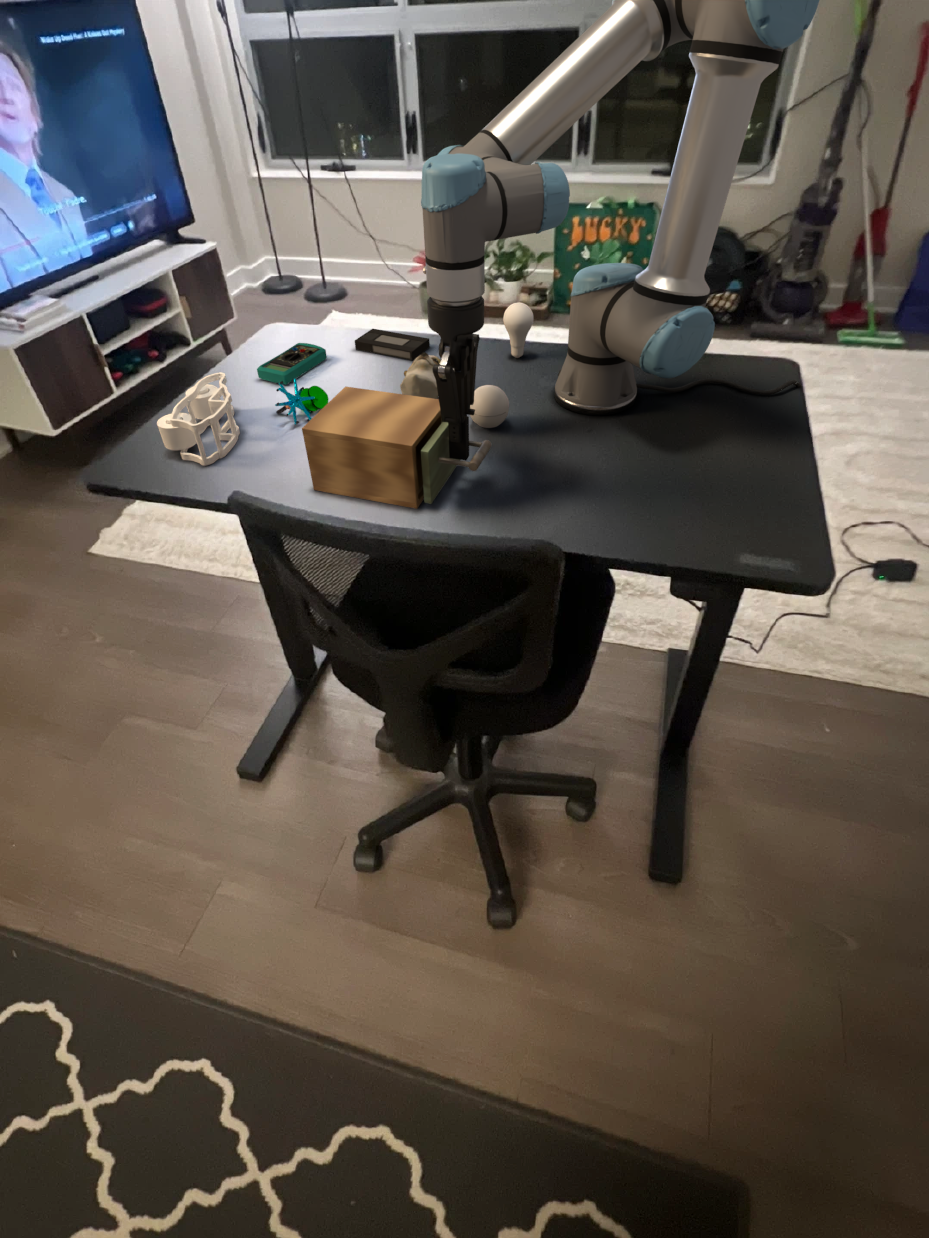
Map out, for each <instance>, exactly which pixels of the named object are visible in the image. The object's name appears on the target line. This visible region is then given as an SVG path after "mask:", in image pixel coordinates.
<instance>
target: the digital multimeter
mask: <svg viewBox="0 0 929 1238" xmlns="http://www.w3.org/2000/svg"><path fill="white" fill-rule="evenodd" d="M327 358H328V355H327V350H326V348H323V347H321V346H319V345H317V344H312V343H307V342H297V343H295V344H294V345H292V346H291V347H289V348H288V349H286V350H284V351H283V352H282V353H280V354H278V355H276V356H275V357H273V358H271V359H269V360H268V361H265V362H264V363H262V364H260V365H259V366H258V367H257V368H256V372H257V377H258V378H259V379H261V380H263V381H266V382H270V383H274V384H279V383H280V382H281V381H283V383H282V385H285V386H286V385H289V384H290V383H293V382H292V380H293V379H294V378H296V379H298V378H300V377H301V376H302V375H304V374H306V373H307V372H309V371H310V370H312V369H313V368H314V367H316V366H318V365H319V364H321V363H323V362H324V361H326V360H327Z"/></svg>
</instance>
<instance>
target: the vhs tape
mask: <svg viewBox="0 0 929 1238" xmlns="http://www.w3.org/2000/svg"><path fill="white" fill-rule="evenodd" d="M430 342H431V341H430V338H429V337H423V336H417V335H411V334H406V333H400V332H395V331H389V330H383V329H378V328H371V329H369V330H368V331H367V332H364V334H362V335H361V336H359V337H357V338H356V339H355V340H354V348H355V351H360V352H364V353H371V354H374V355H375V354H377V355H380V356H381V355H382V356H386V357H391V358H397V359H402V360H407V361H414V360H415V359H416V358H417V357H418V356H420V354H422V353H424V352H426V351H428V349H430V348H431V344H430Z"/></svg>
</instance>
